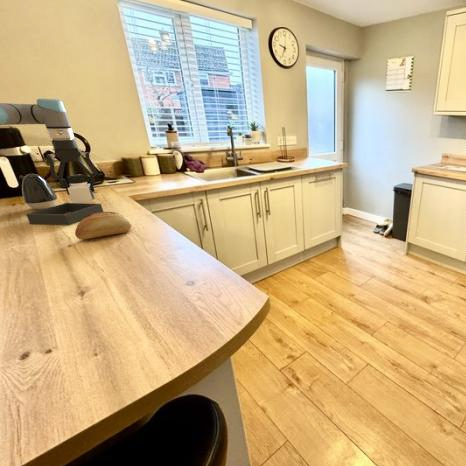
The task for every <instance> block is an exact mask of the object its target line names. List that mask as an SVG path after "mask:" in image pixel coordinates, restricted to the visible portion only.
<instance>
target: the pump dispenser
mask: <svg viewBox="0 0 466 466" xmlns="http://www.w3.org/2000/svg"><path fill="white" fill-rule="evenodd" d="M19 179H22V184H21V193H22V198H23V202H24V204H26V205H27V206H28V207H29V208H31V209H33V210H37V211H39V210H43V209H46V208H50V207H53V206H56V205H57V199H58V197H57V194H56V193H55V191H54V189H53V188H52V186H51V185H50V184H49V183H48V182H47V180H45V179H44V178H43V177H42V176H41V175H39V174H37V173H36V174H35V173H29V174H26V175H25V176H24V175H19Z"/></svg>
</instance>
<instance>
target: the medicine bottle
mask: <svg viewBox="0 0 466 466" xmlns="http://www.w3.org/2000/svg"><path fill="white" fill-rule="evenodd" d="M66 179H67V183H68V184H69V186H68V192H69V194H70V195H69V197H70V200H71V203H88V204H90V203H94V202H95V200H96V195H95V192H93V191H92V188H91V185H90V183H88V180H87V177H86V175H85V174H71V175H68V176H67V177H66Z"/></svg>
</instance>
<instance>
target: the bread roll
mask: <svg viewBox="0 0 466 466" xmlns="http://www.w3.org/2000/svg"><path fill="white" fill-rule="evenodd" d="M131 229H132V224H131V222H130V221H129V220H128V219H127V218H126V217H125V216H124V215H123V214H120V213H118V212H114V211H103V212H99V213H94V214H89V215H87V216H86V217H84V218H83V219H82V220H81V221H79V222H78V224H77V226H76V228H75V230H74V235H75V237H76V238H77V239H78V240H88V239H95V238H101V237H106V236H112V235H117V234H118V235H119V234H123V233H128V232H129V231H130V230H131Z"/></svg>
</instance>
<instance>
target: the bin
mask: <svg viewBox="0 0 466 466" xmlns="http://www.w3.org/2000/svg"><path fill="white" fill-rule="evenodd" d="M99 212H104V209H103V206H102V204H101V203H72V202H65V203H61V204H56V205H55V206H53V207H50V208H46V209H41V210H35V211H32V212H29V213H25V216H26V218H27V220H28V223H29V224H30V225H51V226H70V225H73V224H76V223H80V222H81V220H82V219H83V218H84V217H86V216H87V215H89V214H94V213H99Z"/></svg>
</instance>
